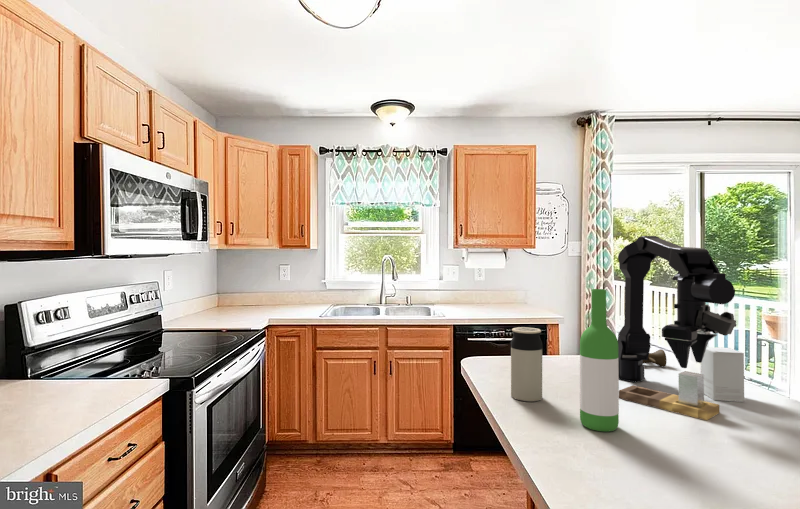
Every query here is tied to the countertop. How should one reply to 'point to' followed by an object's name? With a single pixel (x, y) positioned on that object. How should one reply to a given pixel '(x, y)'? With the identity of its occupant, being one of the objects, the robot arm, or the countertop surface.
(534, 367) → the travel mug
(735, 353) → the supplement box
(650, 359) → the kendama
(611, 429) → the wine bottle
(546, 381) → the countertop surface
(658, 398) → the wooden slotted board
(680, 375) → the peg
